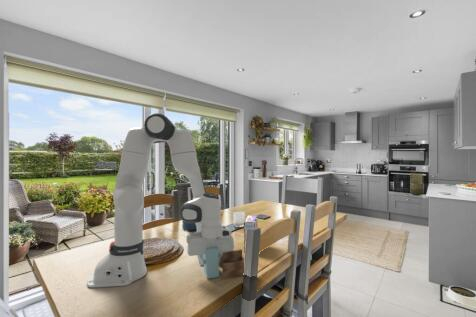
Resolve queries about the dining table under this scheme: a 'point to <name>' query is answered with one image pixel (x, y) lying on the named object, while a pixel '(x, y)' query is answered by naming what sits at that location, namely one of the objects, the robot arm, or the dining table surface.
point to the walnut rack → (232, 264)
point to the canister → (189, 226)
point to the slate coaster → (201, 260)
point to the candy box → (249, 225)
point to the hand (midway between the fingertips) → (211, 262)
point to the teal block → (211, 262)
